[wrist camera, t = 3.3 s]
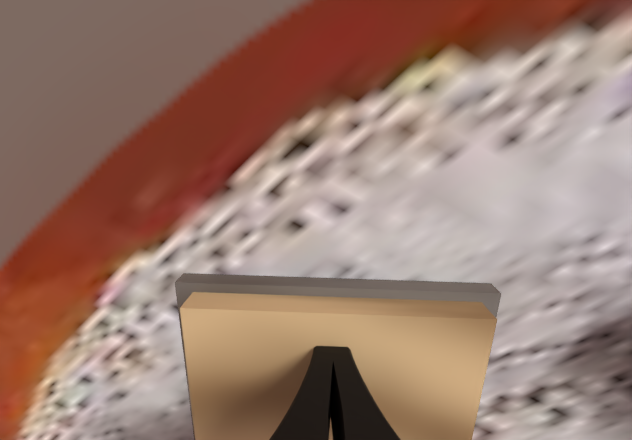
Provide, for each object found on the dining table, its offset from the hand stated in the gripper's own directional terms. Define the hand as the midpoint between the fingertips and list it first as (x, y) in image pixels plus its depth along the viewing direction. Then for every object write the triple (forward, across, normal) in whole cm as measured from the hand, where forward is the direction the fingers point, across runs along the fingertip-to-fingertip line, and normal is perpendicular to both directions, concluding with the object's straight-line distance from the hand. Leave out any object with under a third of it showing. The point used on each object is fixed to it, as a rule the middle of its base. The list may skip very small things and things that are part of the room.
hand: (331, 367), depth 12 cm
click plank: (+1, 0, +3) cm, 3 cm away
